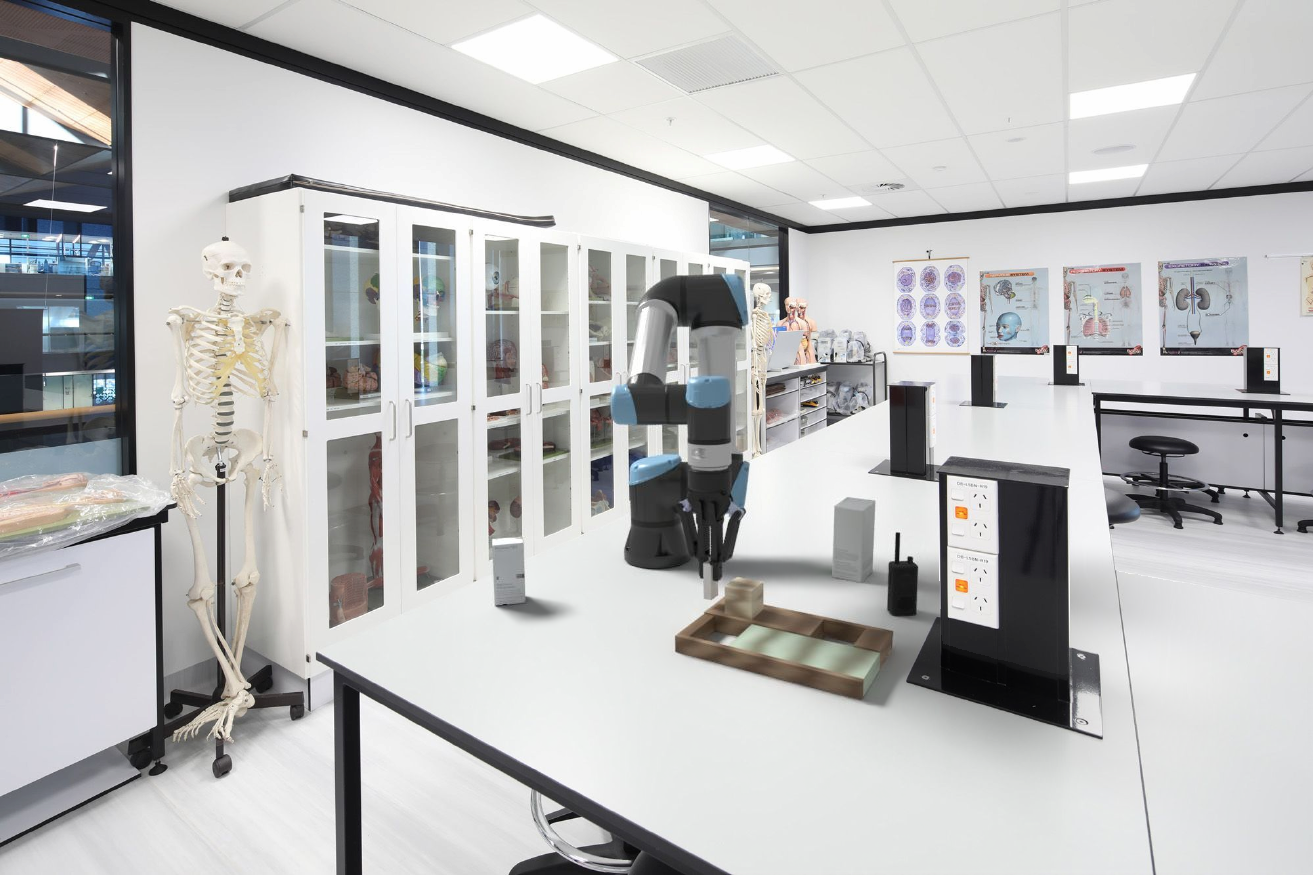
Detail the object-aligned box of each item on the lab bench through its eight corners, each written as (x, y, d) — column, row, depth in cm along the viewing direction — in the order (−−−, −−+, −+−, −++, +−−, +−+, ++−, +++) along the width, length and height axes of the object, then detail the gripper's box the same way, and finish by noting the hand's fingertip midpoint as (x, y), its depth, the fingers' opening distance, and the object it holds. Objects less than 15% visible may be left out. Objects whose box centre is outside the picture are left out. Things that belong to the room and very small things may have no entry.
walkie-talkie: (910, 608, 127) (913, 529, 124) (918, 616, 123) (921, 534, 121) (884, 609, 127) (887, 530, 124) (891, 617, 123) (894, 535, 121)
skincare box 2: (844, 566, 150) (846, 496, 147) (875, 571, 146) (877, 499, 143) (831, 578, 143) (832, 504, 140) (862, 584, 139) (864, 509, 137)
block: (724, 613, 119) (724, 586, 118) (737, 603, 123) (737, 576, 122) (751, 619, 116) (751, 591, 116) (763, 609, 120) (763, 581, 120)
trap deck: (675, 651, 112) (674, 634, 112) (724, 611, 127) (724, 596, 127) (861, 700, 96) (861, 680, 96) (892, 648, 111) (893, 630, 111)
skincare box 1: (494, 606, 132) (490, 545, 130) (494, 598, 136) (490, 538, 135) (527, 603, 134) (523, 542, 132) (526, 594, 138) (522, 535, 136)
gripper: (665, 467, 119) (668, 597, 123) (734, 473, 112) (734, 611, 116) (687, 459, 126) (689, 583, 129) (753, 465, 119) (753, 596, 122)
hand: (710, 596), depth 123 cm, fingers closed
